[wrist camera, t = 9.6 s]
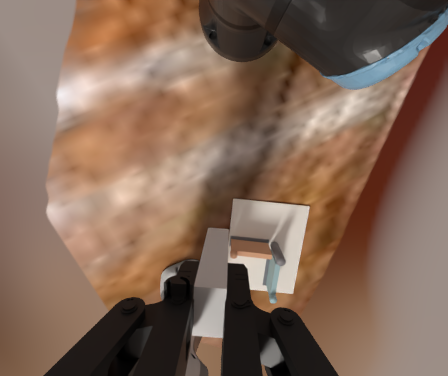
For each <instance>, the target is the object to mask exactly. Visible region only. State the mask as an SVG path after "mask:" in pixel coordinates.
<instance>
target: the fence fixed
mask: <svg viewBox="0 0 448 376" xmlns="http://www.w3.org/2000/svg"><path fill="white" fill-rule="evenodd" d="M270 247H271V250H272V252H271V253H272V260H271V259H270V261H269V267H268V274H267V280H266V286H267V290H268V294H269V299H270V302H271V303H276V302H277V299H276V296H275V294H276V288H277V282H278V277H279V271H280V266H283V265H285V263H286V260H285V258H284V256H283V253H282V251H281V249H280V247H279V244H278V243H277V242H275V241H274V242H272V243H271V244H270Z"/></svg>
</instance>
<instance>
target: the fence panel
mask: <svg viewBox="0 0 448 376" xmlns="http://www.w3.org/2000/svg"><path fill="white" fill-rule="evenodd" d="M237 256H245V257H254V258H262V259H271V260H272V253H271V250H270V247H269V244H268V243H262V242H254V241H245V240H237V239H231V251H230V257H231V258H232V259H235V258H237Z"/></svg>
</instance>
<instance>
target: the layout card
mask: <svg viewBox="0 0 448 376" xmlns="http://www.w3.org/2000/svg"><path fill="white" fill-rule="evenodd" d="M309 208H310V206H303V205H293V204H284V203H274V202H264V201H255V200H245V199H235V198H233V206H232V214H231V223H230V232H229V241H228V263H238V264H244V265H245V266H246V268H247V269H248V277H249V285H250V289H251V290H260V291H268V290H267V286H266V280H267V274H268V267H269V261H270V259H262V258H254V257H245V256H237V258H235V259H232V258H231V257H230V251H231V239H237V240H245V241H254V242H262V243H268V244H269V247H270V244H271V243H272V242H274V241H275V242H277V243H278V244H279V247H280V249H281V251H282V253H283V256H284V258H285V260H286V263H285V265H283V266H280V271H279V277H278V282H277V288H276V292H280V293H289V294H293V290H294V285H295V280H296V275H297V270H298V265H299V260H300V254H301V249H302V244H303V239H304V234H305V229H306V223H307V218H308V213H309ZM270 250H271V247H270ZM271 252H272V250H271Z"/></svg>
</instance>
